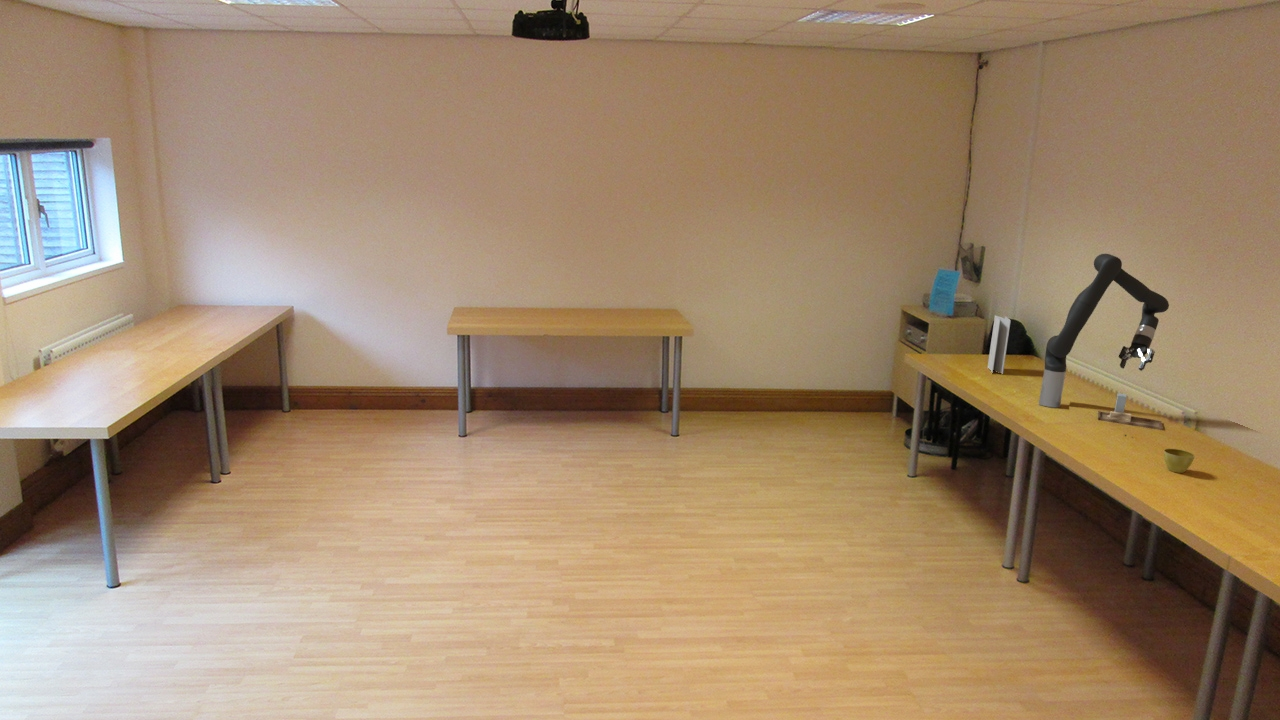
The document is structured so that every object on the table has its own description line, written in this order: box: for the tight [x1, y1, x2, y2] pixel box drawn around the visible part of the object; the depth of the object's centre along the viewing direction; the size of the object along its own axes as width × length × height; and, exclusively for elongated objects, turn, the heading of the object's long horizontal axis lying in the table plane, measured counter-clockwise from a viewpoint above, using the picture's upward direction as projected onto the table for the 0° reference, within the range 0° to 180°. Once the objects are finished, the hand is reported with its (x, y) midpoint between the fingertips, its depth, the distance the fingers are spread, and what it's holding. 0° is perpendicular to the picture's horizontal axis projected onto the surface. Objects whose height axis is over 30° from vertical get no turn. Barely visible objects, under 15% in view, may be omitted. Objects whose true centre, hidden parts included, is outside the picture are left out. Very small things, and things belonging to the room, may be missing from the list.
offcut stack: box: [1107, 410, 1132, 422], centre depth 389 cm, size 9×4×4 cm, turn 63°
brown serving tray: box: [1097, 410, 1164, 431], centre depth 391 cm, size 25×13×2 cm, turn 63°
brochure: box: [987, 314, 1012, 375], centre depth 480 cm, size 14×6×30 cm, turn 168°
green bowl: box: [1163, 448, 1196, 474], centre depth 331 cm, size 10×10×7 cm
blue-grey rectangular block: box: [1114, 392, 1127, 413], centre depth 393 cm, size 3×5×11 cm, turn 153°
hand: (1131, 368), depth 400 cm, fingers open, 8 cm apart
